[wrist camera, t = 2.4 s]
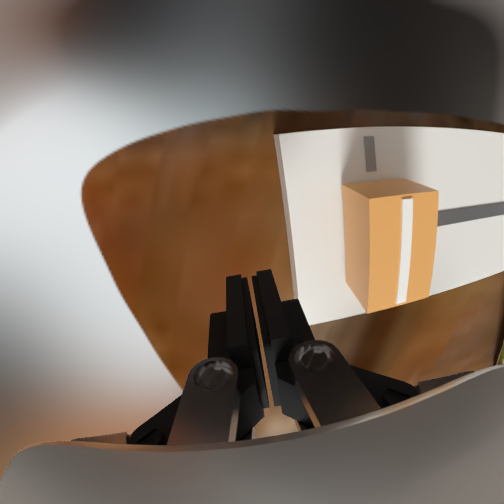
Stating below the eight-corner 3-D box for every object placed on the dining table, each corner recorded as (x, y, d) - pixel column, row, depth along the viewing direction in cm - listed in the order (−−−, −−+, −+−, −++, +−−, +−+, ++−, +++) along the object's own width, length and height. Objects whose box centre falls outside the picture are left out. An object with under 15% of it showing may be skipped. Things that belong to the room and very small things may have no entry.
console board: (546, 140, 16) (560, 143, 14) (538, 245, 20) (549, 252, 18) (273, 134, 16) (278, 134, 14) (295, 310, 21) (301, 327, 19)
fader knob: (403, 177, 15) (440, 191, 12) (400, 269, 17) (429, 297, 14) (341, 184, 15) (369, 199, 12) (345, 281, 17) (367, 314, 14)
